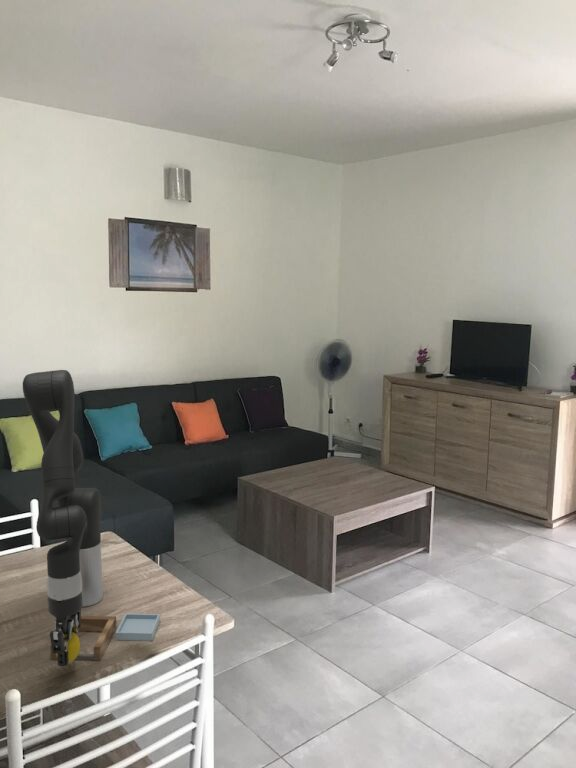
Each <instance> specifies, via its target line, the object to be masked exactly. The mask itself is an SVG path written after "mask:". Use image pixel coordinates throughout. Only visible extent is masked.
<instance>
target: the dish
mask: <svg viewBox="0 0 576 768" xmlns="http://www.w3.org/2000/svg"><path fill="white" fill-rule="evenodd" d="M160 622H161V615H160V613H125V614H124V616H123V617H122V620H121V621H120V623H119V626H118V627H117V628H116V631H115V641H149V642H151V641H152V642H153V640H154V638H155V635H156V632H157V630H158V627H159V624H160Z"/></svg>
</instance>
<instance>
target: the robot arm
mask: <svg viewBox="0 0 576 768" xmlns="http://www.w3.org/2000/svg"><path fill="white" fill-rule="evenodd" d="M74 385H75V384H74V380H73V377H72V375H71V373H70V371H68V370H66V369H56V370H49V371H39V372H33V373H29V374H26V375H25V376H24V378H23V380H22V393H23V397H24V400H25V403H26V406H27V408H28V411H29V412H30V416H31V418H32V420H33V423H34V425H35V427H36V431H37V433H38V436H39V440H40V445H41V448H42V451H43V454H42V458H41V462H40V467H41V469H40V470H41V484H42V485H41V486H42V491H41V492H42V494H41V495H42V496H41V501H40V508H39V510H38V511H39V512H38V516H37V519H36V532H37V535H38V536H39V538H40V539H42V540H43V541H55V540H61V539H66V541H64V542H62V543H60V544H57V545H55V546H52V547H51V548H50V549H49V550H48V551H47V554H46V565H47V566H46V567H47V581H46V582H47V583H46V589H47V605H48V606H47V607H48V613H49V614H50V615H51V616H52V617H54V618H55V620H54V630H50V632H49V638H50V647H51V646H52V653H53V654H57V655H58V659H57V665H58V666H59V667H68V665H69V664H70V663H69V662H68V642H69V640H70V639H71V633H72V632H74V633H75V634H76V635H78V634H79V631H78V628H80V626H81V616H82V608H84V607H89V606H93V605H97V604H98V603H99V602H101V600H102V599H103V597H104V594H103V568H102V567H103V566H102V562H103V561H102V547H101V546H102V543H101V542H102V541H101V533H102V532H101V531H102V529H101V527H102V524H101V514H102V512H101V511H102V498H101V497H102V496H101V492H100V490H99V489H98V488H95V487H76V483H75V482H76V481H75V477H76V475H77V474H78V472H79V471H80V470H81V468H82V465H83V463H84V458H85V457H84V452H83V448H82V444H81V440H80V438H79V436H78V435H77V434H76V432H75V431H74V430H75V400H76V399H75V398H76V397H75V386H74ZM58 409H59V411H60V412H59V419H57V418H56V417H55V416H54V415H53V414H52V413H51V412H50V411H51V410H53V411H54V410H58ZM55 502H57V507H53V505H54V503H55ZM64 635H67V637H63V636H64ZM64 641H65V645H64Z"/></svg>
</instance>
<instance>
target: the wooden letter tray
mask: <svg viewBox="0 0 576 768" xmlns="http://www.w3.org/2000/svg"><path fill="white" fill-rule="evenodd" d="M116 631H117V616H110V615H106V616H105V615H103V616H101V615H81V626H80V628H78V632H101V633H100V634H99V637H98V638H97V640H96V642H95V644H94V646H93V653H79V654H78V656H77V657H76V659H74V660H73V661H101V660H102V658H103V657H104V654H105V652H106V650H107V648H108V646H109V645H110V642H111V640H112V638H113V636H114V635H115V634H116ZM50 659H51V660H58V658H57V656H56V654H53V653H52V646H51V645H50Z"/></svg>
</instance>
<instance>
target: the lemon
mask: <svg viewBox="0 0 576 768" xmlns="http://www.w3.org/2000/svg"><path fill="white" fill-rule="evenodd" d="M63 637H67V635H64V636H63ZM64 645H65V641H64ZM80 651H81V642H80V639H79V636H78V634H75V633H74V632H72V633H71V639H70V640H69V642H68V662H69V663H68V664H70V663H71V662H73V661H75V660H74V659H76V657H77V656H78V654H80ZM56 656H57V658H58V655H57V654H56Z"/></svg>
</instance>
